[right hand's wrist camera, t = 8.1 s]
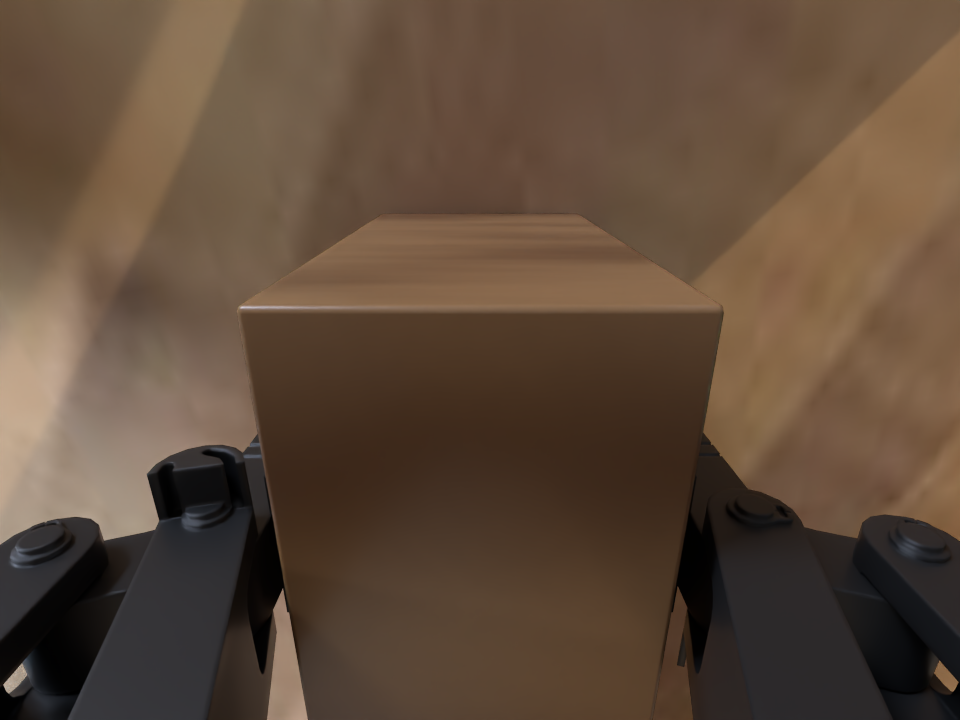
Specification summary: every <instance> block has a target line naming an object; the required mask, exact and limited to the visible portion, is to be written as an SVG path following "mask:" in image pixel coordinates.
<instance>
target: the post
mask: <svg viewBox="0 0 960 720" xmlns="http://www.w3.org/2000/svg"><path fill="white" fill-rule="evenodd" d="M723 314H724V312H723V307H722V306H721V305H720V304H718V303H717V302H715V301H713V300H712V299H710V298H709V297H707V296H706V295H704V294H702V293H701V292H699V291H698V290H696V289H695V288H693V287H692V286H690V285H688V284H687V283H685V282H684V281H682V280H681V279H679V278H677V277H676V276H674V275H673V274H671V273H670V272H668V271H666V270H665V269H663V268H662V267H660V266H659V265H657V264H655V263H654V262H652V261H651V260H649V259H648V258H646V257H645V256H643V255H641V254H640V253H638V252H637V251H635V250H634V249H632V248H630V247H629V246H627V245H626V244H624V243H623V242H621V241H619V240H618V239H616V238H615V237H613V236H612V235H610V234H609V233H607V232H605V231H604V230H602V229H601V228H599V227H598V226H596V225H594V224H593V223H591V222H590V221H588V220H587V219H585V218H583V217H582V216H580V215H579V214H382V215H380V216H378V217H377V218H375V219H374V220H372V221H371V222H369V223H367V224H366V225H364V226H363V227H361V228H360V229H358V230H356V231H355V232H353V233H352V234H350V235H349V236H347V237H346V238H344V239H342V240H341V241H339V242H338V243H336V244H335V245H333V246H331V247H330V248H328V249H327V250H325V251H324V252H322V253H321V254H319V255H317V256H316V257H314V258H313V259H311V260H310V261H308V262H307V263H305V264H303V265H302V266H300V267H299V268H297V269H296V270H294V271H292V272H291V273H289V274H288V275H286V276H285V277H283V278H282V279H280V280H278V281H277V282H275V283H274V284H272V285H271V286H269V287H267V288H266V289H264V290H263V291H261V292H260V293H258V294H257V295H255V296H253V297H252V298H250V299H249V300H247V301H246V302H244V303H243V304H241V305H239V306H238V310H237V317H238V322H239V328H240V334H241V339H242V345H243V351H244V357H245V362H246V368H247V374H248V380H249V385H250V391H251V397H252V402H253V408H254V414H255V420H256V425H257V431H258V437H259V442H260V448H261V454H262V460H263V465H264V471H265V477H266V482H267V488H268V494H269V500H270V505H271V511H272V517H273V522H274V528H275V534H276V540H277V545H278V551H279V557H280V562H281V568H282V574H283V580H284V585H285V591H286V597H287V602H288V608H289V614H290V620H291V625H292V631H293V637H294V642H295V648H296V654H297V660H298V665H299V671H300V677H301V682H302V688H303V694H304V700H305V705H306V711H307V717H308V720H652V719H653V714H654V708H655V702H656V697H657V691H658V685H659V680H660V674H661V668H662V662H663V657H664V651H665V645H666V640H667V634H668V628H669V622H670V617H671V611H672V605H673V600H674V594H675V588H676V583H677V577H678V571H679V565H680V560H681V554H682V548H683V543H684V537H685V531H686V525H687V520H688V514H689V508H690V503H691V497H692V491H693V486H694V480H695V474H696V468H697V463H698V457H699V451H700V446H701V440H702V434H703V428H704V423H705V417H706V411H707V406H708V400H709V394H710V389H711V383H712V377H713V371H714V366H715V360H716V354H717V349H718V343H719V337H720V331H721V326H722V320H723Z"/></svg>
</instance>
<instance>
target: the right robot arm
mask: <svg viewBox="0 0 960 720" xmlns="http://www.w3.org/2000/svg"><path fill="white" fill-rule="evenodd" d="M147 477H148V480H149V484H150V488H151V491H152V495H153V499H154V503H155V506H156V510H157V514H158V517H159V523H158V525H157V527H156V529H155V530H153V531H149V532H145V533H140V534H135V535H130V536H125V537H120V538H115V539H110V540H105V541H104V540H103V537H102V534H101V531H100V527H99V525H98V524H97V523H95V522H94V521H93V520H91V519H88V518H80V517H71V518H63V519H55V520H51V521H47V522H46V523H45V522H43V523H40V524H37V525H34V526H32V527H31V528H29V529H27V530H25V531H23V532H21V533H18V534H16V535H14V536H13V537H11V538H10V539H8V540H7V541H5V542H4V543H2V544H1V545H0V720H267V714H268V705H269V696H270V687H271V678H272V669H273V660H274V651H275V642H276V633H277V631H276V625H275V619H274V613H273V609H274V606H275V604H276V602H277V600H278V598H279V595H280V593H281V591H282V589H283V590H284V595H285V601H286V607H287V612H289V608H288V602H287V597H286V591H285V585H284V580H283V574H282V568H281V562H280V557H279V551H278V545H277V540H276V534H275V528H274V522H273V517H272V511H271V505H270V500H269V494H268V488H267V482H266V477H265V471H264V465H263V460H262V454H261V448H260V442H259V437H258V434H257V436H256V437H255V438H254V440H253V441H252V442H251V443H250V447H247V448H246V450H245V451H244V452H243V453H242V452H241V451H239V450H238V449H237V448H234V447H230V446H225V445H207V446H201V447H196V448H191V449H187V450H184V451H182V452H179V453H176V454H174V455H171V456H169V457H167V458H166V459H164V460H162V461H161V462H159V463H158V464H156V465H155V466H154V467H153V468H152V469H151V470H150V471H149V472H148V474H147ZM677 586H678V588H679V590H680V592H681V594H682V596H683V599H684V601H685V603H686V605H687V607H688V608H687V613H686V619H685V624H684V629H683V634H682V640H681V645H680V650H679V656H678V662H677V665H678V666H683V667H684V665H685V660H686V659H687V667H688V676H689V685H690V694H691V703H692V712H693V720H960V541H958V540H957V539H955V538H954V537H952V536H951V535H949V534H948V533H946V532H944V531H942V530H939V529H937V528H935V527H933V526H931V525H930V524H928V523H925V522H922V521H919V520H917V521H916V520H914V519H912V518H908V517H901V516H892V515H879V516H871V517H869V518H868V519H867V520H865V521H864V522H863V523H862V526H861V529H860V532H859V535H858V538H852V537H847V536H842V535H837V534H832V533H827V532H822V531H817V530H813V529H809V528H805V527H804V526H803V524H802V522H801V520H800V519H799V517H798V516H797V515H796V513H795V512H794V511H793V510H792V509H791V508H790V507H788V506H787V505H785V504H784V503H783V502H781V501H780V500H778V499H776V498H773V497H771V496H769V495H766V494H764V493H762V492H757V491H753V490H749V489H747V487H746V486H745V485H744V484H743V482H742V481H741V480H740V479H739V477H738V476H737V475H736V474H735V472H734V471H733V470H732V469H731V467H730V466H729V465H728V463H727V462H726V461H725V460H724V458H723V457H722V456H720V453H719V452H718V451H717V450H716V448H715V447H714V446H713V445H711V442H710V441H709V439H708V438H707V437H706V436H705V434H704V433H703V434H702V440H701V446H700V451H699V457H698V463H697V468H696V474H695V480H694V486H693V491H692V497H691V503H690V508H689V514H688V520H687V525H686V531H685V537H684V543H683V548H682V554H681V560H680V565H679V571H678V577H677V583H676V588H675V594H674V600H673V605H672V611H671V612H673V609H674V603H675V597H676V592H677ZM939 660H940V661H941V662H942V664H943V665H944V666H945V667H946V668H947V669H948V670H949V672H950V673H951V674H952V675H953V676H954V677H955V678H956V679H957V681H958V682H959V683H958V685H957V687H956V689H955V690H954V691H953V692H951V691H950V690H949V689H948V688H947V687H946V686H945V685H944V684H943V683H942V682H941V681H940V680H939V679H938V677H937V676H936V675H935V674H934V672H935V669H936V667H937V665H938V662H939ZM21 664H23V666H24V668H25V670H26V673H27V676H26V678H25V679H24V680H23V681H22V682H21V683H20V685H19V686H18V687H17V688H15V689H14V690H13V691H12V692H11V693H10V694H8V693H7V692H6V690H5V688H4V686H3V684H4V683H5V682H6V681H7V680H8V678H9V677H10V676H11V675H12V674H13V673H14V672H15V670H16V669H17V668H18V667H19V666H20V665H21Z"/></svg>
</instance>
